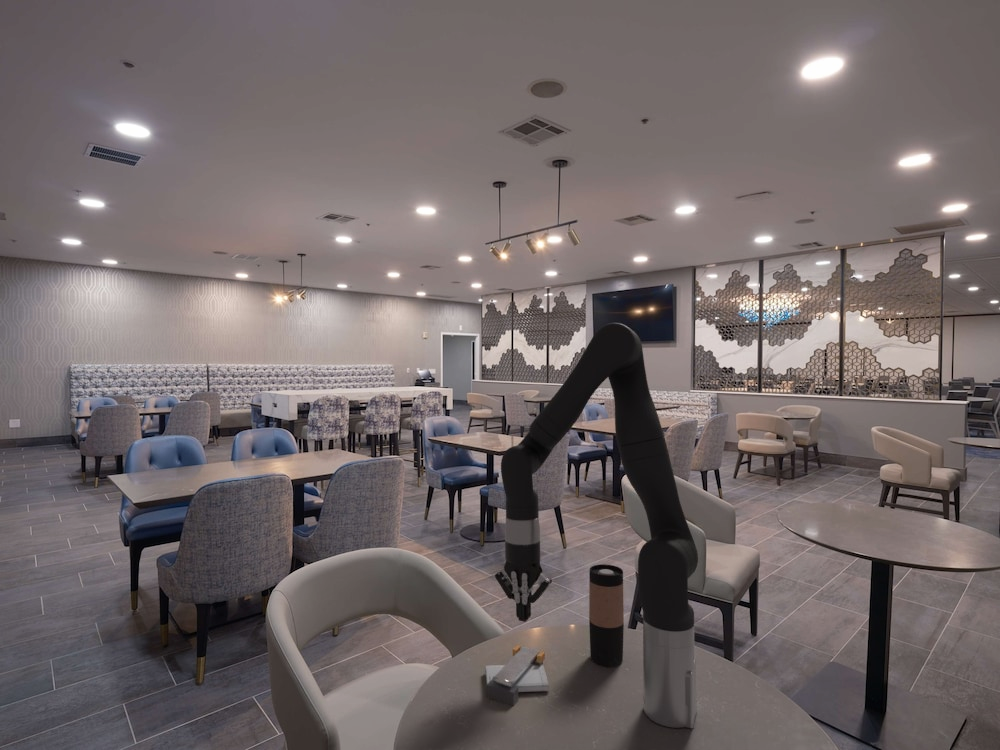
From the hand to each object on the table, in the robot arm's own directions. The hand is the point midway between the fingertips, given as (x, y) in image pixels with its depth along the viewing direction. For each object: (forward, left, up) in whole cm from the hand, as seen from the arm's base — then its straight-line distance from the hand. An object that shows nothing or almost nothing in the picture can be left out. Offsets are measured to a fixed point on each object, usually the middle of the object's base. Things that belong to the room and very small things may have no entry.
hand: (523, 619), depth 113 cm
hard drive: (0, +3, -12) cm, 12 cm away
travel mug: (-14, -15, -12) cm, 23 cm away
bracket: (0, +3, -12) cm, 12 cm away
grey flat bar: (0, +3, -10) cm, 10 cm away
